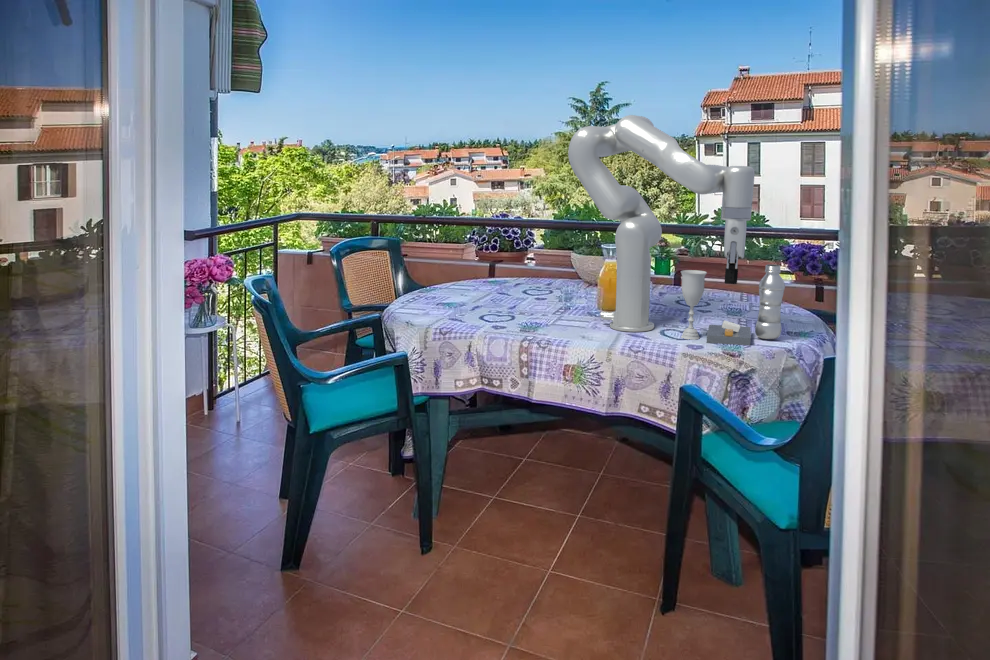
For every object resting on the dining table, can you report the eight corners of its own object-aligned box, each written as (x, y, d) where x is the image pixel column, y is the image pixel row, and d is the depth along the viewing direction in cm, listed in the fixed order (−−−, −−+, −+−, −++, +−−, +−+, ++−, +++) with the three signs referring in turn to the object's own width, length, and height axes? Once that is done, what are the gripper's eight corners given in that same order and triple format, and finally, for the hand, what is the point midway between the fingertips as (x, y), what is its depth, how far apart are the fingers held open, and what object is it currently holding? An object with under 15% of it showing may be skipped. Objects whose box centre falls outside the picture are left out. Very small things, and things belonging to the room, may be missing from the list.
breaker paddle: (721, 327, 205) (723, 322, 205) (722, 324, 208) (723, 320, 207) (738, 332, 204) (739, 327, 203) (738, 329, 207) (739, 325, 206)
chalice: (708, 339, 205) (711, 273, 201) (684, 341, 204) (688, 274, 200) (695, 333, 212) (699, 269, 208) (672, 335, 210) (675, 270, 207)
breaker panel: (706, 342, 202) (707, 330, 201) (709, 331, 215) (709, 320, 214) (750, 345, 198) (751, 333, 198) (750, 333, 211) (750, 322, 211)
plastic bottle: (759, 335, 210) (764, 263, 206) (784, 338, 206) (790, 265, 201) (750, 339, 205) (755, 265, 201) (776, 343, 201) (781, 267, 196)
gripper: (751, 216, 191) (745, 288, 195) (751, 212, 205) (745, 280, 209) (720, 215, 193) (715, 287, 198) (722, 211, 207) (717, 278, 211)
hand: (730, 283), depth 203 cm, fingers closed
